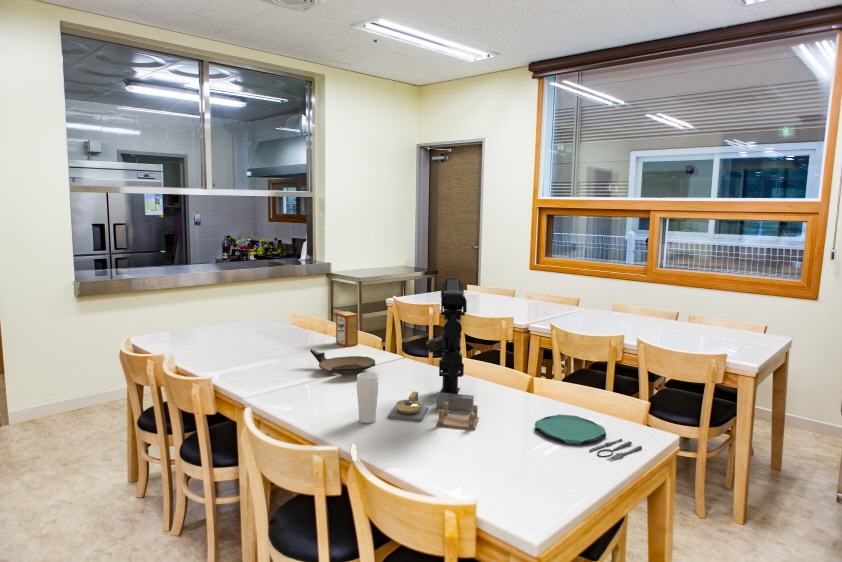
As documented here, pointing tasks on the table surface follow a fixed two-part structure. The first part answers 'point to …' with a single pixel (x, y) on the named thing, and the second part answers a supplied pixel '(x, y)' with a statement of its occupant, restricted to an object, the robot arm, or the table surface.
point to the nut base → (413, 417)
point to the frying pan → (343, 363)
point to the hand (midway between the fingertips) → (451, 375)
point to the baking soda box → (346, 329)
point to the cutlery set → (578, 432)
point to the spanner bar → (456, 402)
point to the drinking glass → (367, 396)
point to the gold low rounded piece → (409, 405)
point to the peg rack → (458, 419)
